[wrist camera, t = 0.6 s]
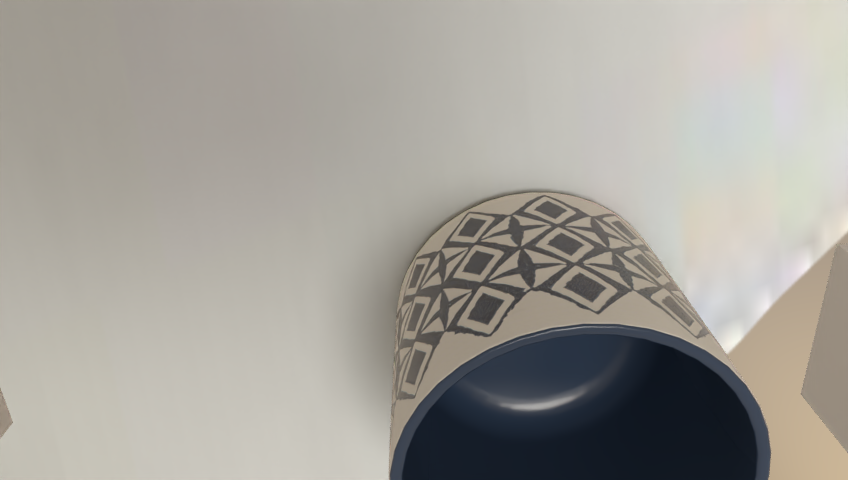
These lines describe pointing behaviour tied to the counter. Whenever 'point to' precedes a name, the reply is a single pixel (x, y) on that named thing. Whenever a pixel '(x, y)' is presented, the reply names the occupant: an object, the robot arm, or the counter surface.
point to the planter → (560, 357)
